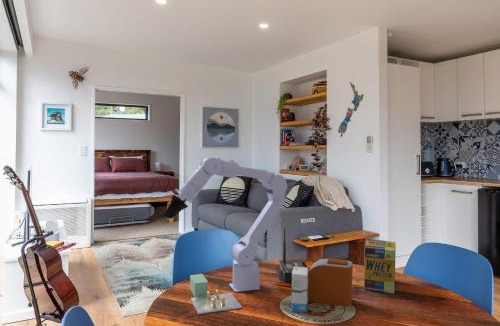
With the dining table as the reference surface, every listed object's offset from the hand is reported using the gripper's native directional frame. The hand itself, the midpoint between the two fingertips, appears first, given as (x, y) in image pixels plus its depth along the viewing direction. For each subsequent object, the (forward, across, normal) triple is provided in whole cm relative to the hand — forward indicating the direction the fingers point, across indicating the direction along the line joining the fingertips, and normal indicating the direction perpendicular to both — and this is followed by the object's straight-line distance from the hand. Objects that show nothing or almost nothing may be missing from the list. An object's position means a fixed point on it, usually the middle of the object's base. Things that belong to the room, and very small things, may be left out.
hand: (167, 216), depth 126 cm
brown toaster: (-12, +4, +60) cm, 61 cm away
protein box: (-29, -8, +77) cm, 83 cm away
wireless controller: (-13, -24, +53) cm, 59 cm away
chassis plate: (+12, +3, +30) cm, 33 cm away
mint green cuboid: (+14, -8, +25) cm, 30 cm away
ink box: (-4, +8, +52) cm, 53 cm away
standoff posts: (+12, +3, +30) cm, 33 cm away
